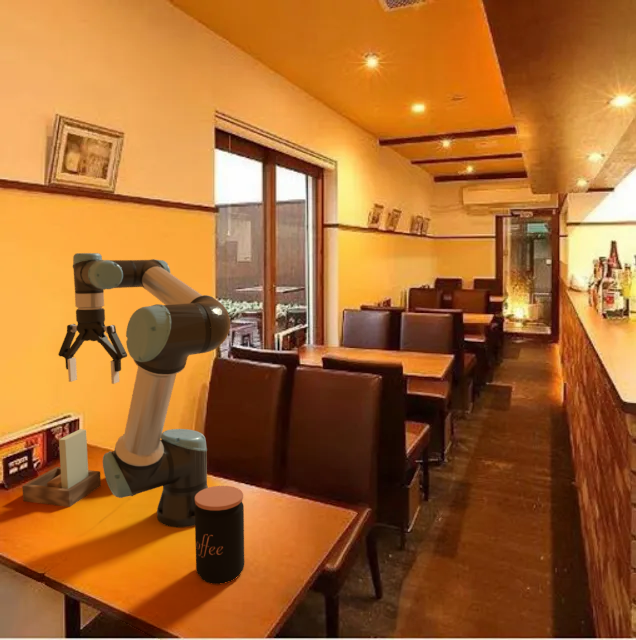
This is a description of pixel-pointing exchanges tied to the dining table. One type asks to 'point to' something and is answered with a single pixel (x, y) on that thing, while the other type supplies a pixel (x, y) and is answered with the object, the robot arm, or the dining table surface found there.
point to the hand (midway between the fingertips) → (94, 381)
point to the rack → (59, 489)
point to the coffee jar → (219, 533)
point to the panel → (73, 458)
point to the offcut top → (55, 482)
